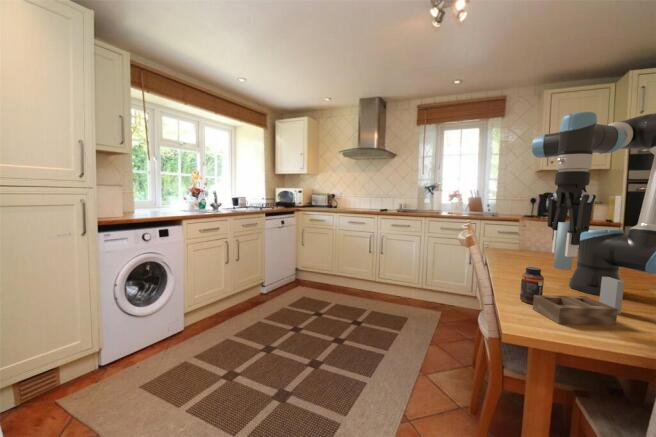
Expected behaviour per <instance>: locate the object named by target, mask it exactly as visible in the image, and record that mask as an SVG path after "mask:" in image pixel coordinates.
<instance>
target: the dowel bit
mask: <svg viewBox="0 0 656 437" xmlns="http://www.w3.org/2000/svg"><path fill="white" fill-rule="evenodd" d="M568 231H570V222H566V221H565V222H558V230H557V239H556V248H555V253H554V259H553V268H555V269H557V270H563V271H564V270H565V271H572V267H573V266H572V265H573V258H574V257H568V256H565V250H566V240H567V233H568Z"/></svg>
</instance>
